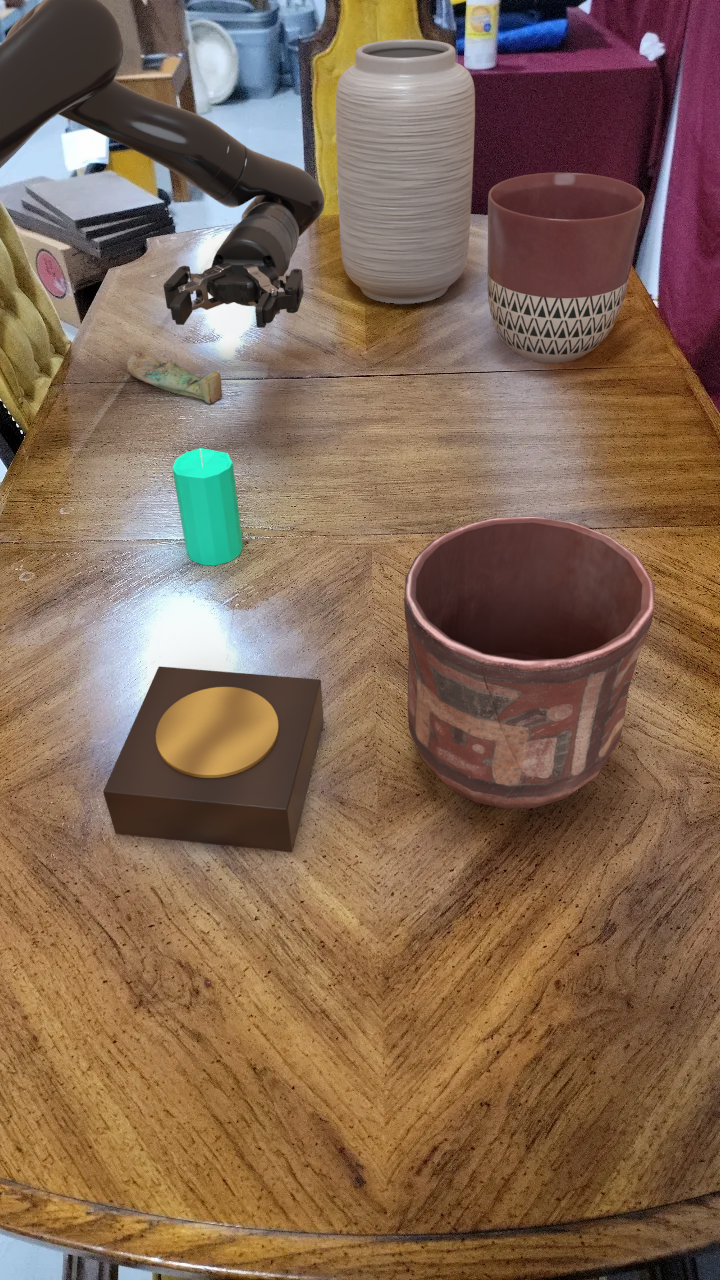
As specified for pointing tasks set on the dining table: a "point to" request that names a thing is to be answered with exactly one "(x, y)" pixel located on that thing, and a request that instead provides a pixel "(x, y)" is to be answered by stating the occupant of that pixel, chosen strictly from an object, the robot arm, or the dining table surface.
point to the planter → (559, 261)
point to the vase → (405, 169)
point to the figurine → (174, 377)
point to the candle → (208, 506)
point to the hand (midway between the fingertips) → (218, 317)
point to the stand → (218, 759)
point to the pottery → (522, 656)
